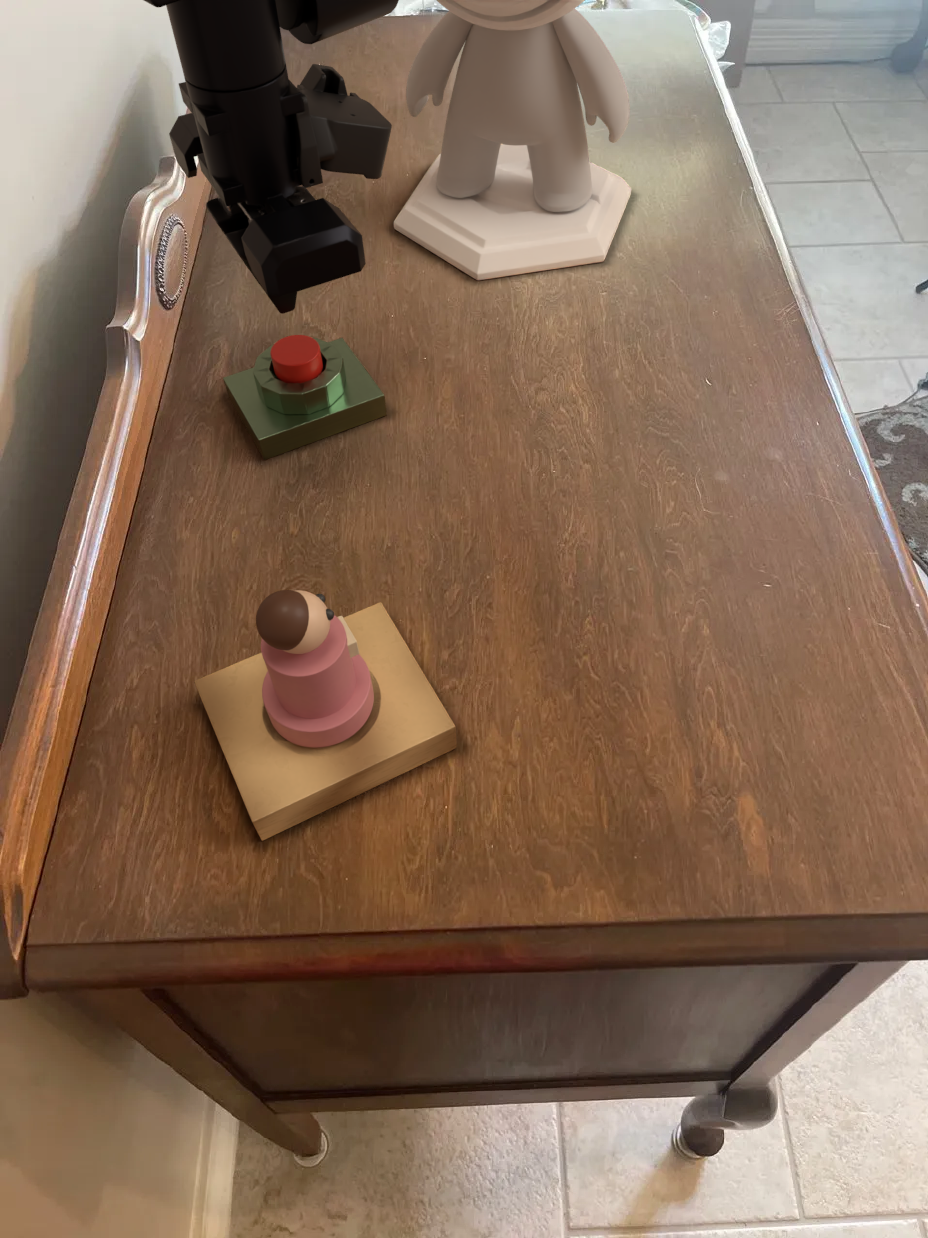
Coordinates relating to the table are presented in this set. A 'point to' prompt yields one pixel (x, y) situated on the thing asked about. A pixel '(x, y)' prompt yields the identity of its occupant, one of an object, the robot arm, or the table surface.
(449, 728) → the doll stand
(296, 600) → the doll
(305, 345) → the button
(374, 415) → the green button box
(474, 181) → the white cartoon figure
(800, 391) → the table surface
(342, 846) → the table surface
